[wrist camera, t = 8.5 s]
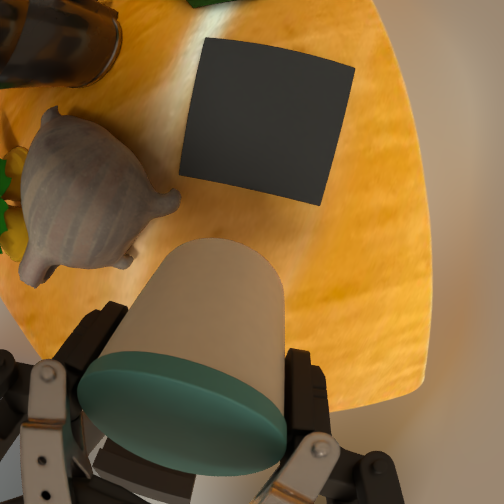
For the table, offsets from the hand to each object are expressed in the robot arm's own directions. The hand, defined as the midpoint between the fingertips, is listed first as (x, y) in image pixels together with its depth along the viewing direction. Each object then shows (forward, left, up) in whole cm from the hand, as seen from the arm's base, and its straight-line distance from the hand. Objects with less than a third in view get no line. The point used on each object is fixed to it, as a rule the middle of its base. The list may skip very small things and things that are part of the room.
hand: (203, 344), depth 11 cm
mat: (-8, 0, -20) cm, 22 cm away
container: (0, 0, -3) cm, 3 cm away
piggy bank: (+2, -17, -20) cm, 27 cm away
